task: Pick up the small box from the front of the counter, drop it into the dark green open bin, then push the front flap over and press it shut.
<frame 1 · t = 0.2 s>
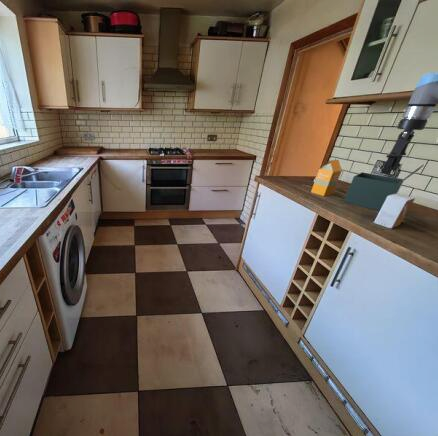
hand: (388, 171, 99), 21 cm above the table, tool pointing down, fingers open, 13 cm apart
chute flap: (411, 173, 108), point 19 cm above the table, hinge at 115.0°
orange juice: (321, 193, 138), on the table
dark green open bin: (366, 203, 124), on the table
small box: (386, 224, 101), on the table
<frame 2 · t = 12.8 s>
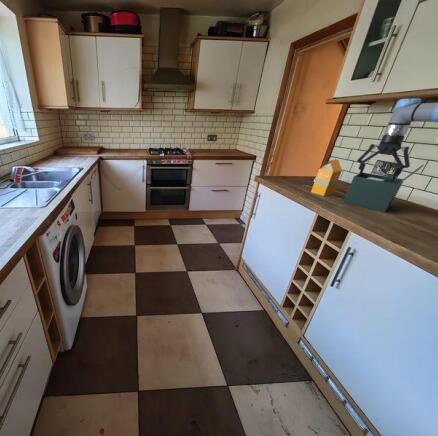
hand: (375, 178, 118), 14 cm above the table, tool pointing down, fingers open, 12 cm apart
small box: (364, 202, 124), resting on dark green open bin
everything else where it was.
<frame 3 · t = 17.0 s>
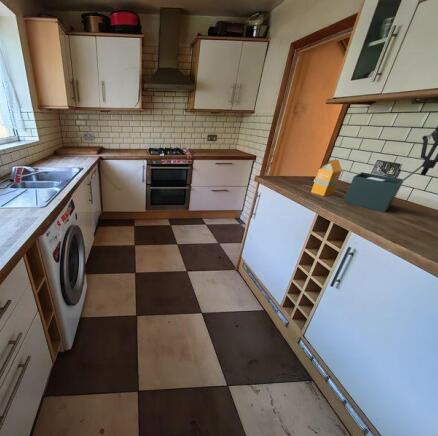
hand: (423, 174, 106), 19 cm above the table, tool pointing down, fingers closed
chute flap: (411, 173, 108), point 19 cm above the table, hinge at 114.6°, touching gripper
everything else where it was.
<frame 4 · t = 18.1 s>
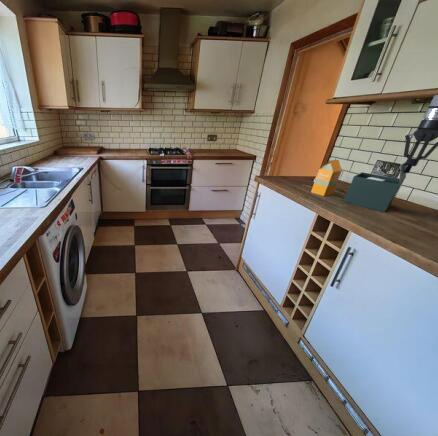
hand: (406, 172, 110), 19 cm above the table, tool pointing down, fingers closed
chute flap: (403, 171, 110), point 19 cm above the table, hinge at 73.7°, touching gripper
everything else where it was.
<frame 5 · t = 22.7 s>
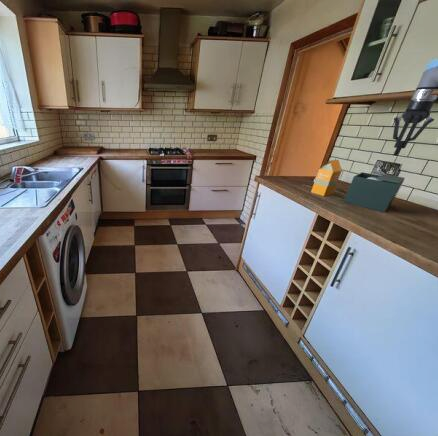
hand: (395, 155, 111), 26 cm above the table, tool pointing down, fingers closed
chute flap: (390, 178, 114), point 15 cm above the table, hinge at 0.6°
everything else where it was.
at the end: small box inside the target area in the dark green open bin (1.2 cm from its centre), point 0.3 cm above the dark green open bin's base; chute flap at +1° (first picture: +115°) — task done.
